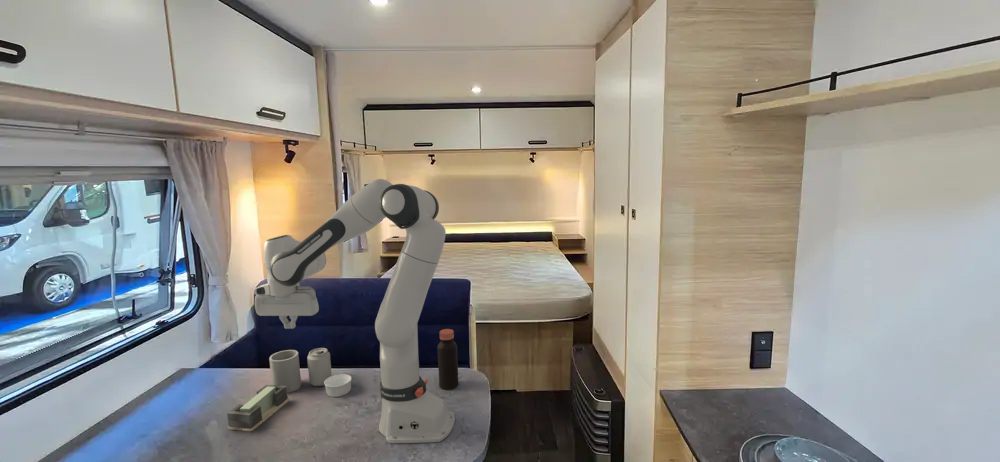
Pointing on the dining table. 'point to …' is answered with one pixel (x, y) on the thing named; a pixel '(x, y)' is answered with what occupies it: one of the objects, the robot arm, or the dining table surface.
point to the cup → (285, 369)
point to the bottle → (447, 360)
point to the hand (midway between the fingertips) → (290, 327)
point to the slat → (261, 400)
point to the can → (319, 366)
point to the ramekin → (338, 385)
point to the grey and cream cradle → (256, 411)
